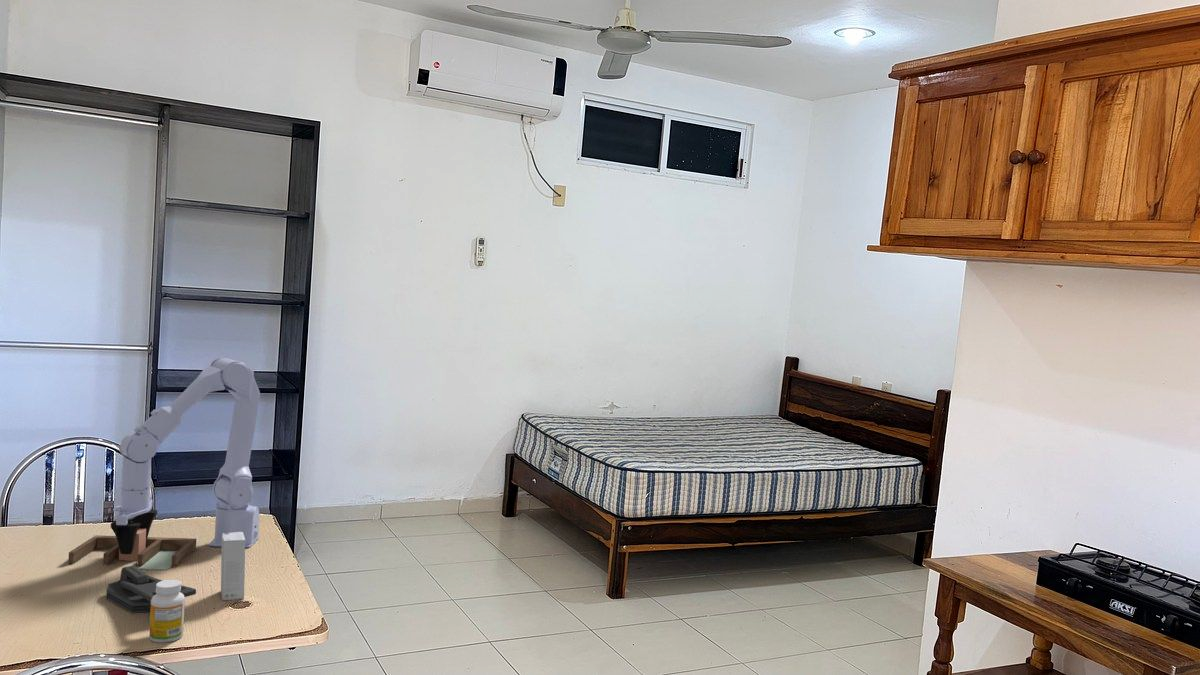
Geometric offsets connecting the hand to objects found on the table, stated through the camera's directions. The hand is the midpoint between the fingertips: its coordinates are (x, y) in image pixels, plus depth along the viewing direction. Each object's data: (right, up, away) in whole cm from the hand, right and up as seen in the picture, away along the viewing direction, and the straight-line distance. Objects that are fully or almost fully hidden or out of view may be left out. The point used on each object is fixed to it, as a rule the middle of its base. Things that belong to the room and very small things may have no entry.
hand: (133, 548), depth 193 cm
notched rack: (0, -2, 0) cm, 2 cm away
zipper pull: (+17, -5, -27) cm, 32 cm away
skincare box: (+29, -5, -17) cm, 34 cm away
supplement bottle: (+27, -7, -39) cm, 47 cm away
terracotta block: (0, -2, 0) cm, 2 cm away
